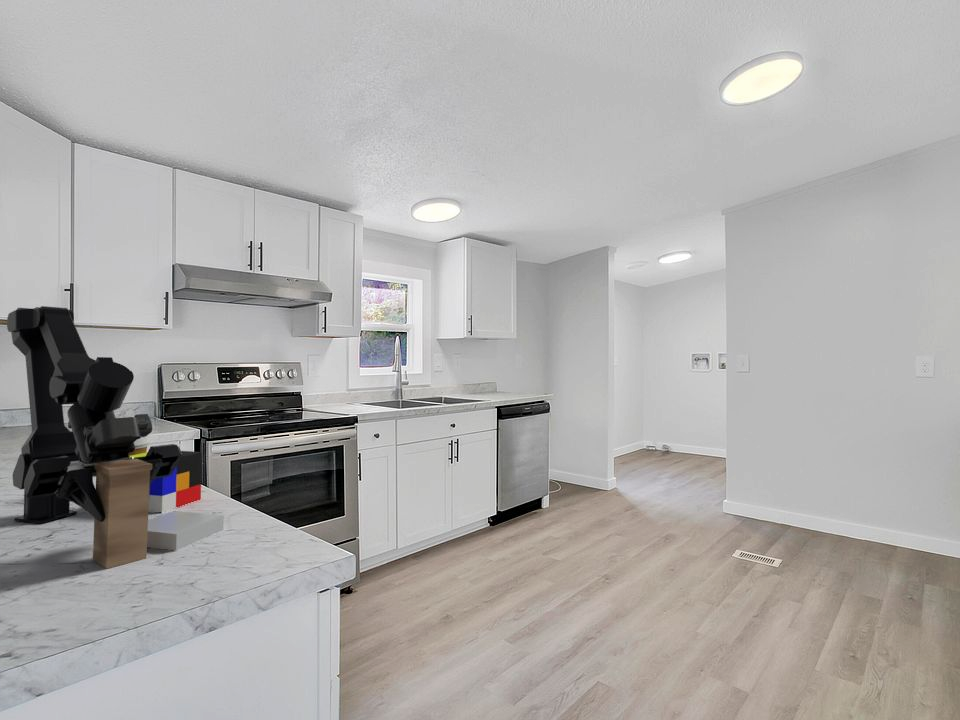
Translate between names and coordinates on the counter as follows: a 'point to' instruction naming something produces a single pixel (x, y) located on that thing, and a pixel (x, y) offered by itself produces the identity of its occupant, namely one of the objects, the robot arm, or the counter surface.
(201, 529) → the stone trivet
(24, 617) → the counter surface
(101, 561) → the walnut canister
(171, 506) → the puzzle toy
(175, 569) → the counter surface
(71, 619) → the counter surface
